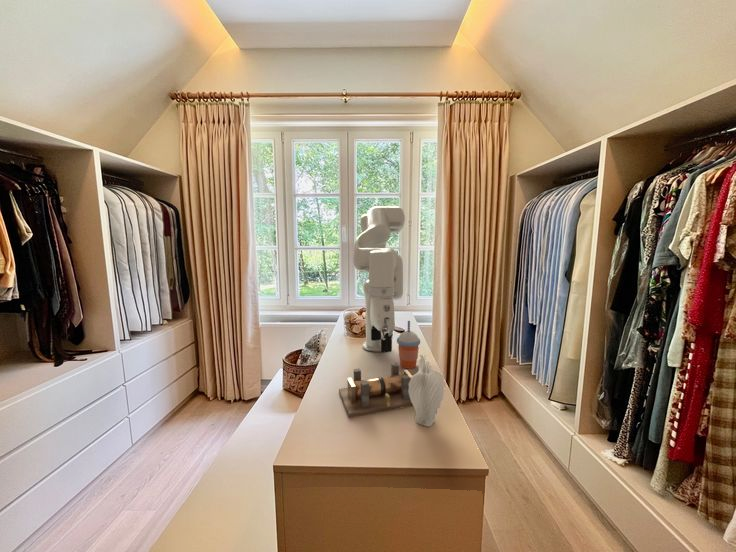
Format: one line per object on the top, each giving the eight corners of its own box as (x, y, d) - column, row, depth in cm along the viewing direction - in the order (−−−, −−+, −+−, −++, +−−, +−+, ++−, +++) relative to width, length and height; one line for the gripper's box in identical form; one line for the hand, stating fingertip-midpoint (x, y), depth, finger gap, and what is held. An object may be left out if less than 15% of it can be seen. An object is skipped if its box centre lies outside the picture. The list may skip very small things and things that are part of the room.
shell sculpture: (436, 435, 76) (438, 369, 73) (406, 425, 80) (407, 362, 77) (444, 418, 83) (447, 357, 81) (416, 409, 87) (418, 351, 85)
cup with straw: (419, 371, 111) (420, 325, 109) (395, 369, 113) (395, 323, 111) (420, 361, 120) (421, 318, 118) (397, 359, 122) (398, 317, 119)
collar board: (339, 392, 97) (338, 368, 96) (406, 381, 104) (407, 359, 102) (348, 417, 83) (348, 390, 82) (425, 403, 90) (426, 378, 89)
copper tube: (351, 404, 88) (351, 386, 87) (347, 394, 93) (347, 378, 92) (413, 393, 94) (414, 377, 93) (406, 385, 99) (406, 369, 98)
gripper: (404, 297, 82) (403, 355, 84) (383, 285, 98) (383, 334, 101) (378, 298, 79) (378, 358, 82) (361, 286, 96) (361, 337, 99)
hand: (380, 345), depth 91 cm, fingers open, 9 cm apart
